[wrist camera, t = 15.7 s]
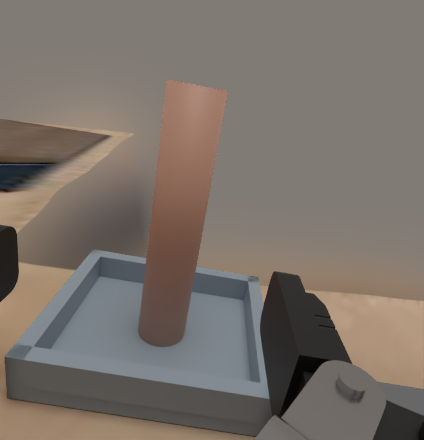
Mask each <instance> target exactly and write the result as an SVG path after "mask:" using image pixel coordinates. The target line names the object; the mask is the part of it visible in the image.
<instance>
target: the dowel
mask: <svg viewBox="0 0 424 440" xmlns="http://www.w3.org/2000/svg"><path fill="white" fill-rule="evenodd" d="M226 97H227V91H225V90H219V89H214V88H209V87H204V86H198V85H193V84H188V83H182V82H176V81H171V80H167V83H166V93H165V101H164V110H163V118H162V126H161V135H160V144H159V154H158V162H157V171H156V178H155V187H154V196H153V205H152V213H151V222H150V231H149V239H148V248H147V256H146V265H145V274H144V282H143V291H142V300H141V308H140V317H139V326H138V333H139V335H140V337H141V338H142V339H143V340H144V341H145V342H146V343H148V344H150V345H153V346H158V347H168V346H172V345H175V344H177V343H178V342H180V341H181V340H182V338H183V337H184V333H185V327H186V322H187V316H188V311H189V305H190V299H191V294H192V288H193V282H194V277H195V271H196V265H197V260H198V254H199V249H200V242H201V237H202V231H203V225H204V220H205V214H206V209H207V204H208V198H209V192H210V187H211V181H212V175H213V170H214V164H215V158H216V153H217V147H218V142H219V136H220V130H221V124H222V119H223V113H224V107H225V102H226Z"/></svg>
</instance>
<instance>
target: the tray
mask: <svg viewBox="0 0 424 440" xmlns="http://www.w3.org/2000/svg"><path fill="white" fill-rule="evenodd" d="M145 265H146V258H141V257H135V256H129V255H123V254H117V253H112V252H106V251H99V250H92V252H91V253H90V254H89V255H88V257H87V258H86V259H85V260H84V261H83V263H82V264H81V265H80V267H78V269H77V270H76V271H75V272H74V273H73V275H72V276H71V277H70V278H69V279H68V281H67V282H66V283H65V284H64V286H63V287H62V288H61V289H60V290H59V292H58V293H57V294H56V295H55V296H54V298H53V299H52V300H51V301H50V302H49V304H48V305H47V306H46V307H45V309H44V310H43V311H42V312H41V313H40V315H39V316H38V317H37V318H36V319H35V321H34V322H33V323H32V324H31V326H30V327H29V328H28V329H27V330H26V332H25V333H24V334H23V335H22V336H21V338H20V339H19V340H18V341H17V342H16V344H15V345H14V346H13V347H12V349H11V350H10V351H9V352H8V353H7V355H6V356H5V371H6V385H7V398H11V399H17V400H24V401H30V402H37V403H43V404H50V405H56V406H63V407H69V408H76V409H82V410H88V411H95V412H101V413H108V414H114V415H121V416H127V417H134V418H140V419H147V420H153V421H160V422H166V423H172V424H179V425H185V426H192V427H198V428H205V429H211V430H218V431H224V432H231V433H237V434H244V435H250V436H257V435H258V434H259V433H260V431H261V430H262V429H263V428H264V426H265V425H266V424H267V422H268V421H269V420H270V419H271V418H272V413H271V406H270V399H269V392H268V385H267V378H266V371H265V364H264V357H263V350H262V343H261V336H260V320H261V314H262V310H263V301H262V295H261V290H260V284H259V279H258V277H254V276H248V275H242V274H236V273H230V272H224V271H218V270H213V269H207V268H200V267H196V271H195V277H194V282H193V288H192V294H191V299H190V305H189V311H188V316H187V322H186V327H185V333H184V337H183V338H182V340H181V341H180V342H178V343H177V344H175V345H172V346H168V347H158V346H153V345H150V344H148V343H146V342H145V341H144V340H143V339H142V338H141V337H140V335H139V333H138V326H139V317H140V308H141V300H142V291H143V282H144V274H145Z"/></svg>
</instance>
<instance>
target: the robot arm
mask: <svg viewBox="0 0 424 440" xmlns="http://www.w3.org/2000/svg"><path fill="white" fill-rule="evenodd" d="M18 274H19V268H18V247H17V233H16V230H15V229H14V228H13V227H10V226H4V225H0V302H1V301H2V300H3V299H4V298H5V297H6V296H7V295H8V294H9V293H10V292H11V291H12V290H13V289H14V287H15V285H16V283H17V280H18ZM330 318H331V317H330V315H329V313H328V310H327V308H326V306H325V305H324V304H323V303H322V302H321V301H320V300H319V299H318V298H317V297H316V296H315V295H314V294H311V293H306V292H305V290H304V287H303V285H302V283H301V280H300V278H299V276H298V275H293V274H287V273H281V272H274V273H273V274H272V277H271V280H270V284H269V287H268V291H267V295H266V299H265V302H264V306H263V310H262V314H261V320H260V336H261V343H262V350H263V357H264V364H265V371H266V378H267V385H268V392H269V399H270V406H271V413H272V418H271V419H270V420H269V421H268V422H267V424H266V425H265V426H264V428H263V429H262V430H261V431H260V433H259V434H258V435H257V436H256V438H255V439H254V440H424V416H423V415H421V414H418V413H416V412H414V411H411V410H409V409H406V408H404V407H401V406H399V405H397V404H394V403H392V402H390V401H388V400H386V397H385V394H384V392H383V390H382V388H381V387H380V385H379V384H378V383H377V382H376V380H375V379H374V378H373V377H372V376H370V375H369V374H368V373H367V372H365V371H364V370H362V369H361V368H359V367H357V366H355V365H353V364H352V362H351V360H350V358H349V356H348V354H347V352H346V349H345V347H344V345H343V343H342V341H341V339H340V336H339V334H338V332H337V330H335V326H334V323H333V321H332V320H331V319H330Z"/></svg>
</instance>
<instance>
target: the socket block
mask: <svg viewBox="0 0 424 440" xmlns="http://www.w3.org/2000/svg"><path fill="white" fill-rule="evenodd" d="M377 383H378V384H379V385H380V387H381V388H382V390H383V392H384V394H385V397H386V400H388V401H390V402H392V403H394V404H397V405H399V406H401V407H404V408H406V409H409V410H411V411H414V412H416V413H418V414H421V415H423V416H424V389H419V388H413V387H407V386H400V385H394V384H388V383H382V382H377Z"/></svg>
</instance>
